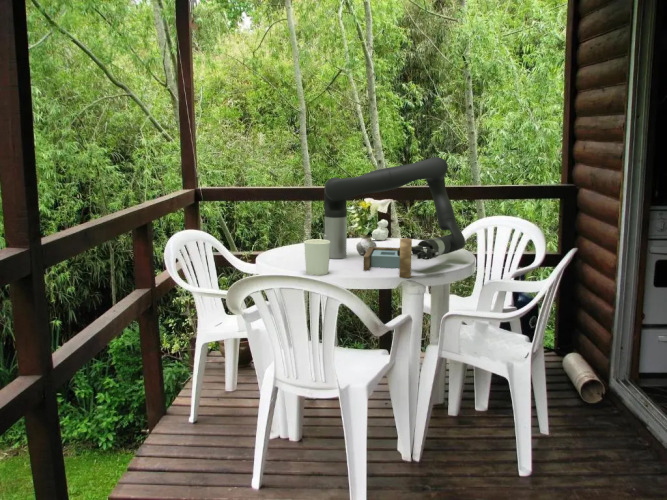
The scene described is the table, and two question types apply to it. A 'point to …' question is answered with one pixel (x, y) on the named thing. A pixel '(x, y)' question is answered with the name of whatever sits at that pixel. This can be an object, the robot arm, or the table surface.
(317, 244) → the candle holder
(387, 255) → the socket block
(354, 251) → the table surface
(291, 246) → the table surface
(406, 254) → the oak dowel
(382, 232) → the duck figurine
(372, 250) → the backstop fence
